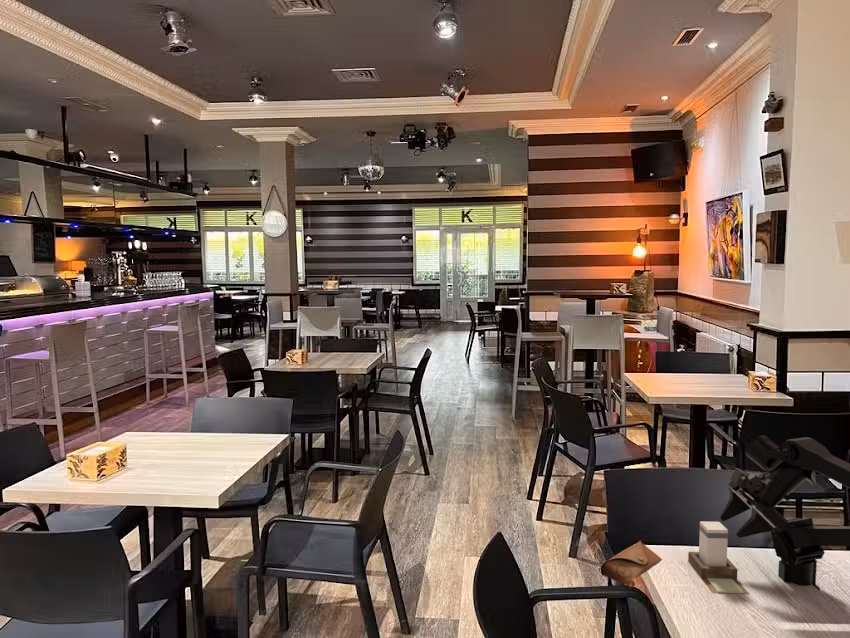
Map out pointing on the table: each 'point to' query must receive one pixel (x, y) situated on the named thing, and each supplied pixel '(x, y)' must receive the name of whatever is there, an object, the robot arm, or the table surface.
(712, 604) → the table surface
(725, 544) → the cream square block
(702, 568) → the brown wooden tray
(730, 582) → the green mat
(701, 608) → the table surface
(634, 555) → the sunglasses case
